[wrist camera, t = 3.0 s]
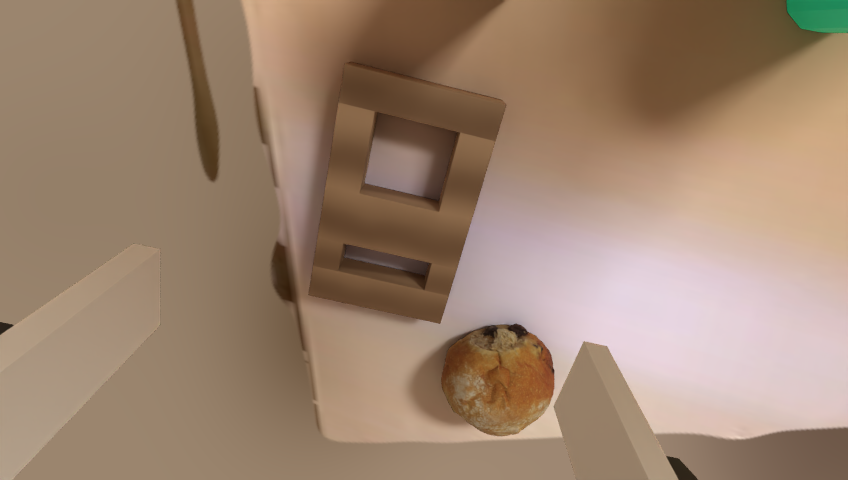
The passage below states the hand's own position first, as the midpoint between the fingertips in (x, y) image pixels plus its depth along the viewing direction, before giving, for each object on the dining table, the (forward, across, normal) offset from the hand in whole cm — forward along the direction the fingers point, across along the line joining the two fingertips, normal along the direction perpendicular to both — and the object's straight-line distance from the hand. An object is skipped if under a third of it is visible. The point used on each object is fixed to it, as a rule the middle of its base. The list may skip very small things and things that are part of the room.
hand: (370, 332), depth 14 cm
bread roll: (+23, +12, -17) cm, 31 cm away
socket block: (+23, 0, -4) cm, 23 cm away
